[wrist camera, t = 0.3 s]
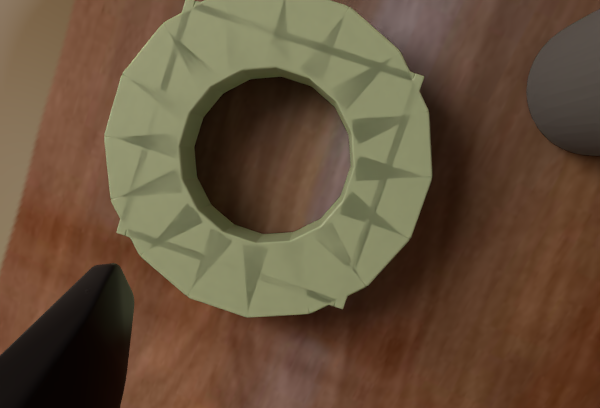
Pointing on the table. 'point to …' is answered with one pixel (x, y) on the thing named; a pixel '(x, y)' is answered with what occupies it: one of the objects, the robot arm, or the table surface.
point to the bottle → (569, 87)
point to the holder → (185, 128)
